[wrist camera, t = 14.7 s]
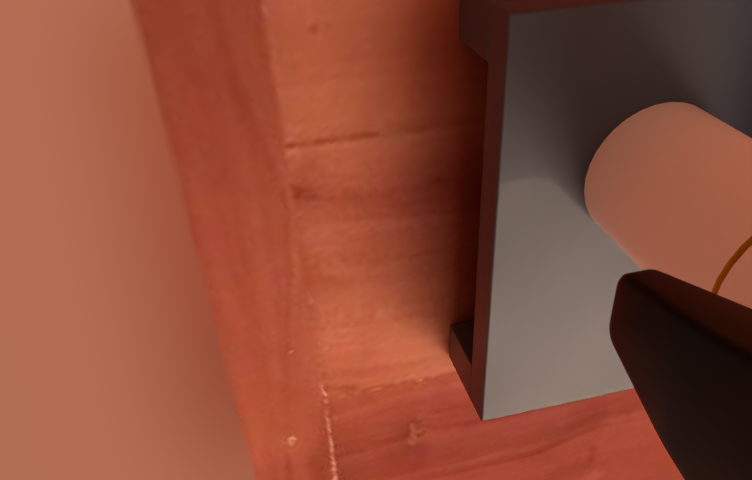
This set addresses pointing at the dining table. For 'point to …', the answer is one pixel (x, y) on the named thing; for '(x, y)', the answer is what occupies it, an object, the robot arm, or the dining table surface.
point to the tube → (678, 196)
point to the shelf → (573, 176)
